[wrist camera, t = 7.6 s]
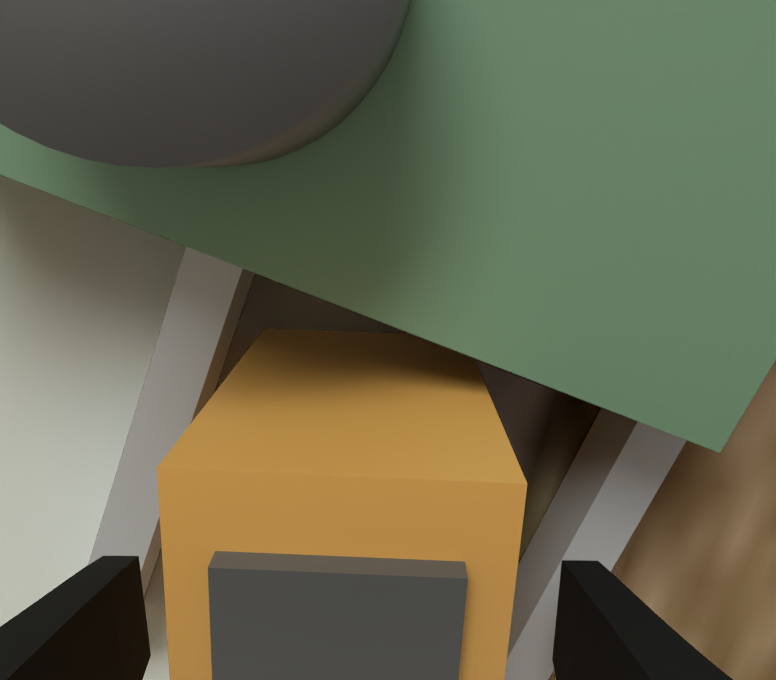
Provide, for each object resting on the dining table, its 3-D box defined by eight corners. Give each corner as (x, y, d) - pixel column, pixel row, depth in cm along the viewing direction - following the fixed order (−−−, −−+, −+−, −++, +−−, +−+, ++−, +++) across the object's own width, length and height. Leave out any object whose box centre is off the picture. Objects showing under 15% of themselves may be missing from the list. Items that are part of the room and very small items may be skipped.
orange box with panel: (464, 336, 12) (533, 497, 6) (437, 662, 15) (470, 1011, 9) (265, 326, 12) (146, 481, 6) (268, 654, 15) (181, 1002, 9)
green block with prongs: (858, 37, 11) (1392, -107, 5) (483, 715, 15) (541, 1063, 9) (26, -355, 9) (-554, -1176, 4) (-135, 511, 14) (-529, 771, 8)
